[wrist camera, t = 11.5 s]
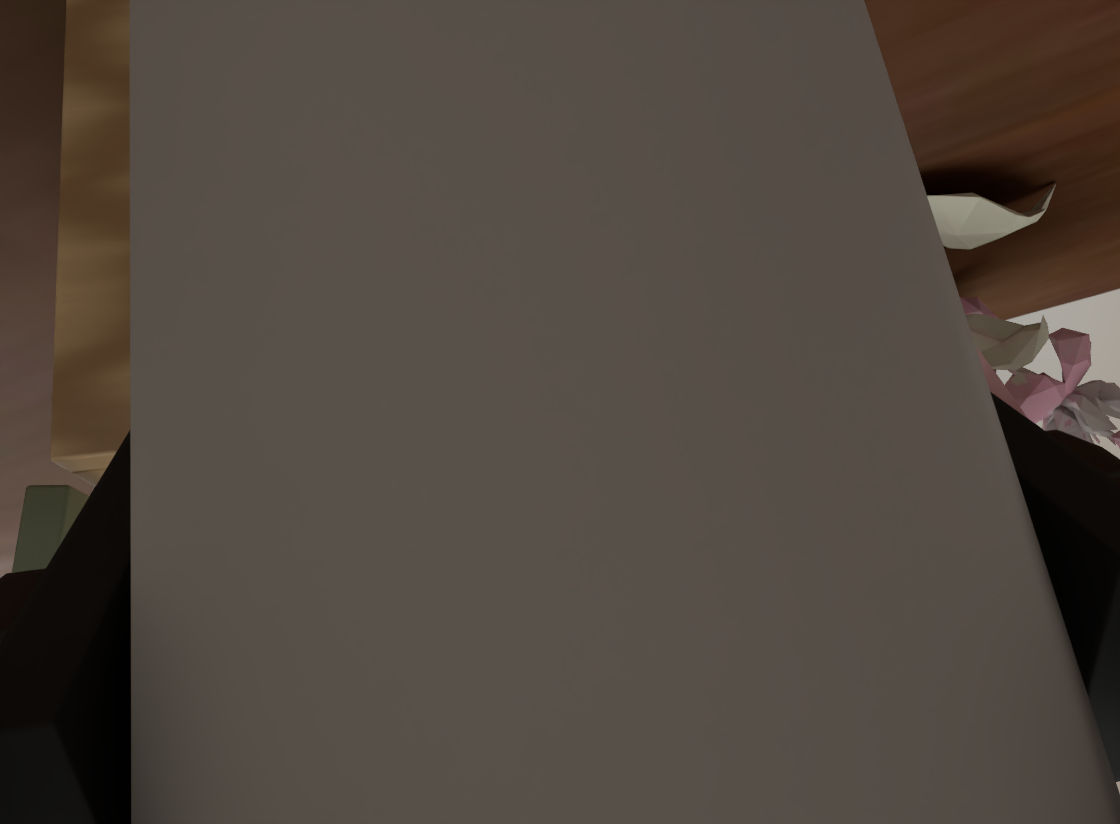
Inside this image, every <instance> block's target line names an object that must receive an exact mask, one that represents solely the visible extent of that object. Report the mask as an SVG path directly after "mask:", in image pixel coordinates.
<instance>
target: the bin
mask: <svg viewBox="0 0 1120 824" xmlns="http://www.w3.org/2000/svg"><path fill="white" fill-rule="evenodd" d="M129 431H130V0H66V29H65V57H64V85H63V113H62V142H61V170H60V198H59V227H58V255H57V283H56V312H55V340H54V368H53V396H52V425H51V453H50V458H51V461H53V462H54V463H56V464H58V465H60V466H61V467H63V468H65V469H66V470H68V471H71V472H72V474H74V475H76V476H78V477H79V478H81V479H83V480H85V481H86V482H88V483H90V484H91V485H93V486H95V487H96V485H97V483H98V482H99V480H100V478H101V477H102V475H103V473H104V472H105V470H106V468H107V467H108V465H109V463H110V462H111V460H112V459H113V457H114V455H115V454H116V452H117V450H118V449H119V447H120V445H121V444H122V442H123V440H124V439H125V437H126V435H127V434H128V432H129Z"/></svg>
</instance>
